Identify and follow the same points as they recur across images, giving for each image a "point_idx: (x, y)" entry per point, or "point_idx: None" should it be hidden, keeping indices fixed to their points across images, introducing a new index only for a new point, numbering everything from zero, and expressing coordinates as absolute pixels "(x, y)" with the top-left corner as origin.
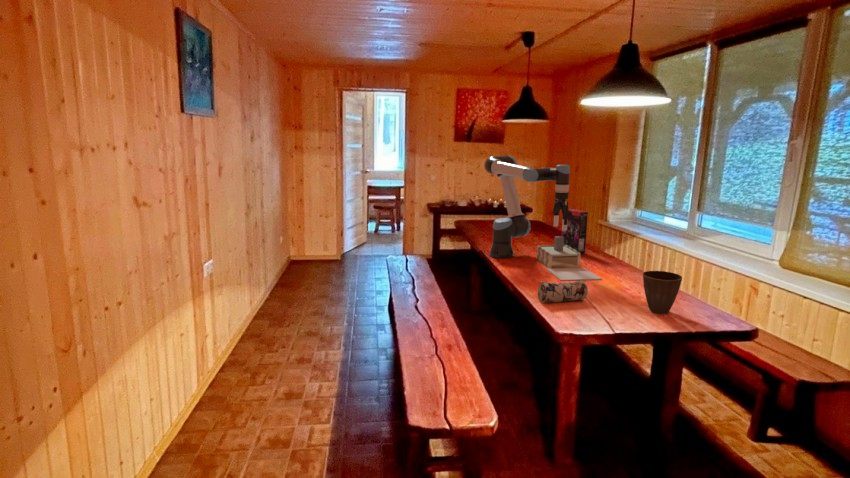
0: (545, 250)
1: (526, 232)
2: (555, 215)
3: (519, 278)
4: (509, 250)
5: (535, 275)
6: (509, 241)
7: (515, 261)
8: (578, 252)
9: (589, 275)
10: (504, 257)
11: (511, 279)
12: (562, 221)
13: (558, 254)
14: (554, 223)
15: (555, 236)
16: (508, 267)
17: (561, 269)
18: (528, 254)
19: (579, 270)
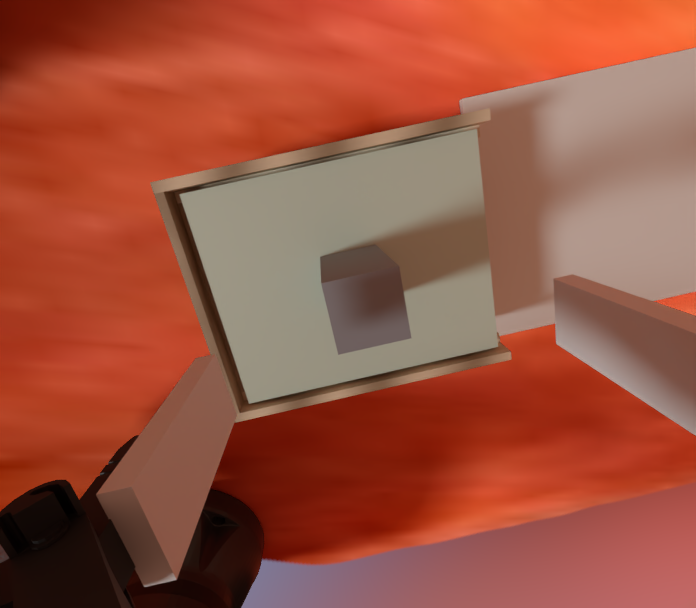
0: (405, 379)
1: (5, 553)
2: (129, 557)
3: (629, 462)
4: (229, 542)
5: (588, 396)
6: (199, 601)
7: (320, 477)
8: (463, 122)
9: (642, 108)
10: (261, 530)
11: (639, 490)
12: (676, 418)
13: (492, 295)
14: (221, 438)
15: (340, 346)
16: (445, 504)
17: (504, 258)
18: (124, 408)
19: (529, 149)
